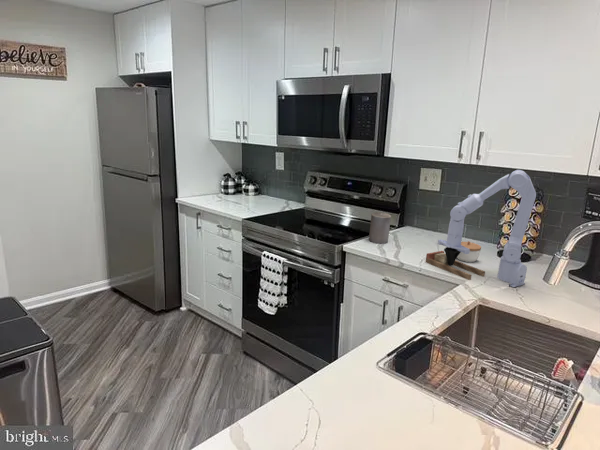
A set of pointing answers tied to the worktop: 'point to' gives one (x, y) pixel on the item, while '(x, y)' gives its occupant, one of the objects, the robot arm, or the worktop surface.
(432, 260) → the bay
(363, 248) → the worktop surface
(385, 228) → the pillar candle
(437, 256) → the tan wooden block
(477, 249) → the lidded jar
